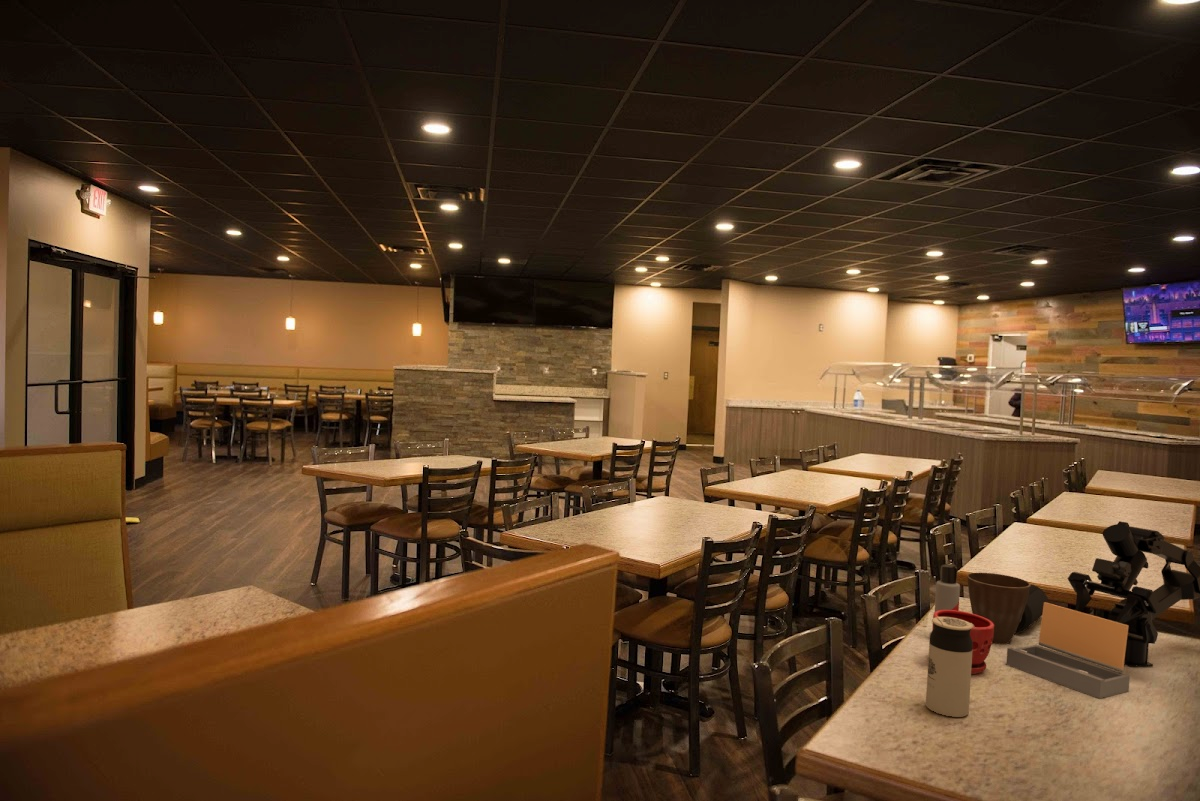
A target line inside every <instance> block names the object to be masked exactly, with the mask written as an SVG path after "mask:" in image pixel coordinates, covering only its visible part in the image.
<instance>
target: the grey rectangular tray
mask: <svg viewBox="0 0 1200 801" xmlns="http://www.w3.org/2000/svg"><path fill="white" fill-rule="evenodd" d="M1005 664H1006V666H1008V667H1011V668H1014V669H1018V670H1020V671H1023V672H1026V673H1029V674H1030V675H1033V676H1036V677H1039V678H1042V679H1043V680H1047V681H1050V682H1053V683H1054V684H1058V685H1061V686H1064V687H1067V688H1069V689H1072V690H1075V691H1077V692H1080V693H1082V694H1085V695H1088V694H1089V695H1088V696H1090V695H1091V696H1090V697H1093V696H1094V697H1093V698H1096V697H1097V699H1099V698H1101V699H1104V698H1103V697H1105V698H1107V696H1109V697H1112V695H1113V696H1115V695H1116V694H1117V695H1120V694H1124V693H1128V692H1129V691H1130V678H1131V676H1130V675H1128V674H1125V673H1123V672H1119V671H1116V670H1113V669H1110V668H1107V667H1104V666H1101V665H1098V664H1095V663H1092V662H1089V661H1086V660H1083V659H1080V658H1077V657H1074V656H1071V655H1068V654H1065V653H1062V652H1059V651H1056V650H1053V649H1050V648H1047V647H1044V646H1041V645H1039V644H1032V645H1028V646H1022V647H1018V648H1016V647H1015V648H1014V647H1007V648H1006V663H1005Z"/></svg>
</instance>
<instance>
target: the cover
mask: <svg viewBox="0 0 1200 801" xmlns="http://www.w3.org/2000/svg"><path fill="white" fill-rule="evenodd" d="M1128 627H1129V625H1125V624H1121V623H1118V622H1114V621H1111V620H1108V618H1107V619H1106V618H1103V617H1100V616H1097V615H1092V614H1090V613H1085V612H1083V611H1081V612H1078V611H1075V609H1071V608H1067V607H1063V606H1060V605H1056V604H1053V603H1049V602H1048V603H1046V602H1044V606H1043V613H1042V616H1041V622H1040V630H1039V631H1040V632H1039V637H1038V638H1039V639H1038V643H1037V645H1038V646H1041V647H1044V648H1047V649H1050V650H1053V651H1056V652H1059V653H1062V654H1065V655H1068V656H1071V657H1074V658H1077V659H1080V660H1083V661H1086V662H1090V663H1093V664H1096V665H1099V666H1102V667H1105V668H1108V669H1111V670H1114V671H1117V672H1120V673H1123V672H1124V666H1125V664H1124V659H1125V651H1126V643H1127V635H1128Z"/></svg>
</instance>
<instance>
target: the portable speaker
mask: <svg viewBox="0 0 1200 801" xmlns="http://www.w3.org/2000/svg"><path fill="white" fill-rule="evenodd" d="M1044 602H1046V603H1049V599H1048V596H1047V594H1046V593H1045V592H1044V591H1043V589H1042V588H1040V587H1038V586H1037V585H1034V584H1031V585H1030V590H1029V595H1028V599H1027V603H1026V606H1025V609H1024V612H1023V615H1022V618H1021V620H1020V623H1019V625H1018V627H1017V630H1016V632H1015V634H1016V633H1021V632H1024V631H1025V630H1026V631H1027V629H1028V628H1030V627H1031V626H1032V625H1033V624H1034V623H1035V622H1036V621H1037V620H1039V619H1040V618H1042V613H1043V606H1044Z"/></svg>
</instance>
